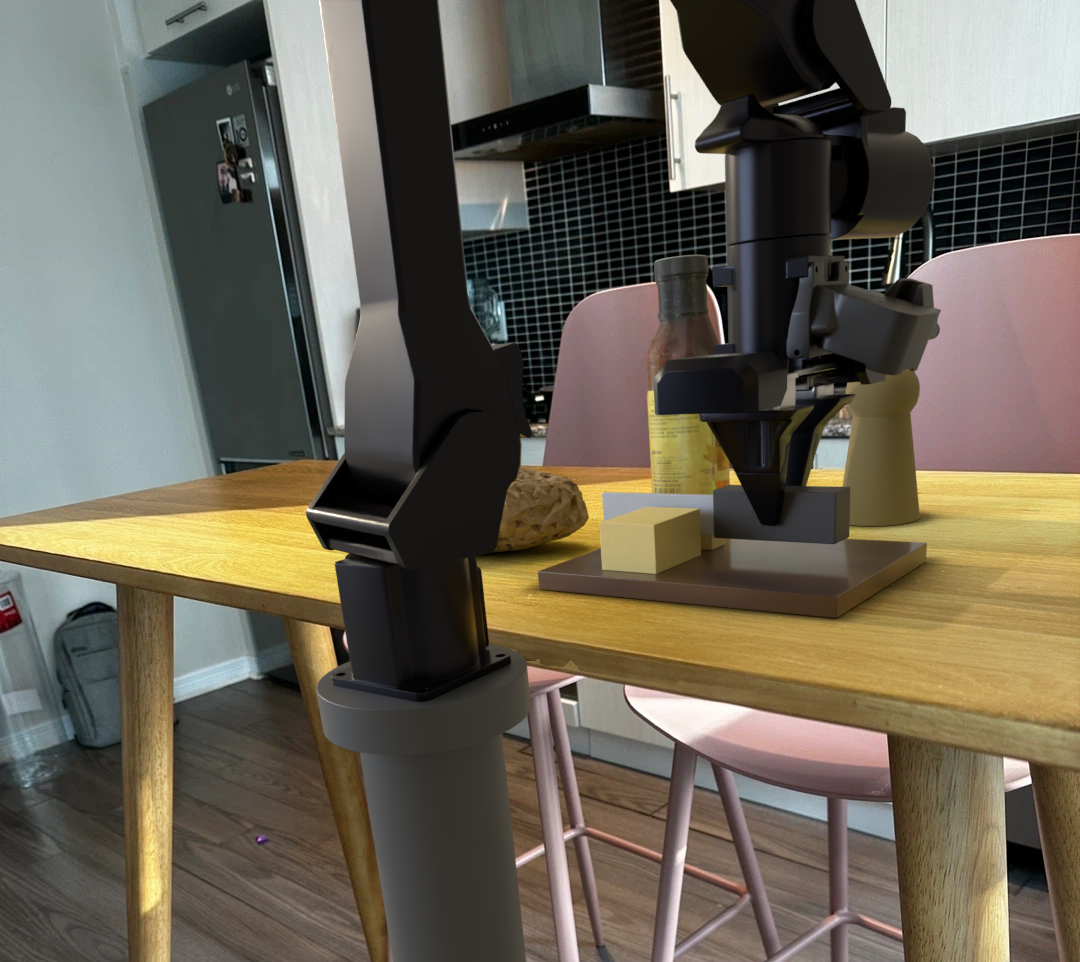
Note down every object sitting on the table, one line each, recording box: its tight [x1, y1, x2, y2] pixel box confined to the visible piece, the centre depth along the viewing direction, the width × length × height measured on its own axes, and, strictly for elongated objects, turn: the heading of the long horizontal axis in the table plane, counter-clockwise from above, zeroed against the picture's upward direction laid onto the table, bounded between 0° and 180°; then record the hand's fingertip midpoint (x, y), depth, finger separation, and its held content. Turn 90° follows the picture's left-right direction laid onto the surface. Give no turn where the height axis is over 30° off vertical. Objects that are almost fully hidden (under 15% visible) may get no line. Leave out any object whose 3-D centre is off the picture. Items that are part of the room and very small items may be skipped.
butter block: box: [598, 507, 701, 574], centre depth 65 cm, size 6×4×3 cm
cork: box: [841, 369, 921, 527], centre depth 77 cm, size 6×6×11 cm
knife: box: [601, 484, 851, 544], centre depth 65 cm, size 2×17×3 cm, turn 52°
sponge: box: [492, 467, 590, 553], centre depth 80 cm, size 13×8×20 cm
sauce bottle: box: [645, 254, 731, 495], centre depth 80 cm, size 6×6×20 cm
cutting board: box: [537, 538, 928, 619], centre depth 65 cm, size 14×20×1 cm
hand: (779, 521), depth 63 cm, fingers closed on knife, 2 cm apart
